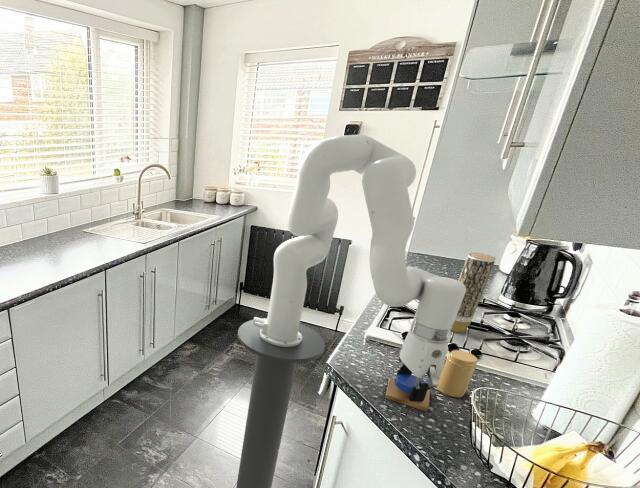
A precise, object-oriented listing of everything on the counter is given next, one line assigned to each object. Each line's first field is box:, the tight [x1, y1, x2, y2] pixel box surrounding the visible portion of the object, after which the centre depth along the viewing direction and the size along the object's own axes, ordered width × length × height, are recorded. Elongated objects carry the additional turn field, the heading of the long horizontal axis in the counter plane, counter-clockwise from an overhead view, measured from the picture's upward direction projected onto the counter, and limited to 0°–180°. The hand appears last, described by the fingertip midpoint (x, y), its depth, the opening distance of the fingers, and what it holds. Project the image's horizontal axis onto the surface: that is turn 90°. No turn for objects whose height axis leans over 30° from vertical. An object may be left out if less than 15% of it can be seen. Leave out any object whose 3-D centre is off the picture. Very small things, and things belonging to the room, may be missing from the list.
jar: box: [436, 349, 479, 398], centre depth 106 cm, size 6×6×10 cm
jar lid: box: [394, 374, 425, 394], centre depth 105 cm, size 7×7×2 cm
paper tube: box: [451, 252, 497, 334], centre depth 133 cm, size 7×7×25 cm
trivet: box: [384, 377, 431, 412], centre depth 106 cm, size 9×9×1 cm
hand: (408, 391), depth 106 cm, fingers closed on jar lid, 6 cm apart
